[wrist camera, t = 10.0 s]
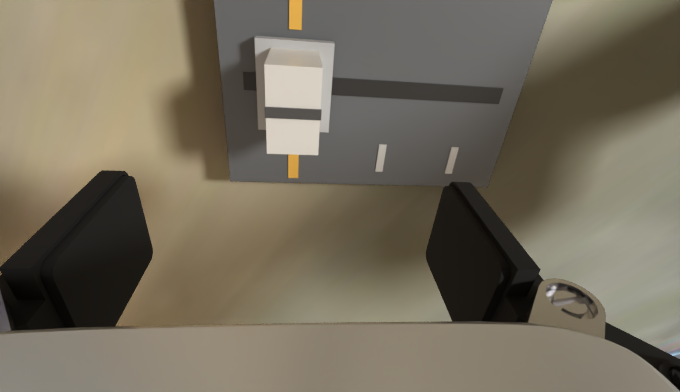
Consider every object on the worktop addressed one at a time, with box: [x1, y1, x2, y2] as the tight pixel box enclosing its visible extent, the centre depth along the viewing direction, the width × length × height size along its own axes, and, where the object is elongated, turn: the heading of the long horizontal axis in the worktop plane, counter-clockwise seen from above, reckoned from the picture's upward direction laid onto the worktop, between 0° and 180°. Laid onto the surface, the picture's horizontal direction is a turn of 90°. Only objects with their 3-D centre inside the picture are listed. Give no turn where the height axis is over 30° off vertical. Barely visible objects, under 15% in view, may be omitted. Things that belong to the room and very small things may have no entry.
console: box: [214, 0, 552, 187], centre depth 27 cm, size 22×16×3 cm
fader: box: [255, 35, 335, 155], centre depth 22 cm, size 5×6×6 cm
